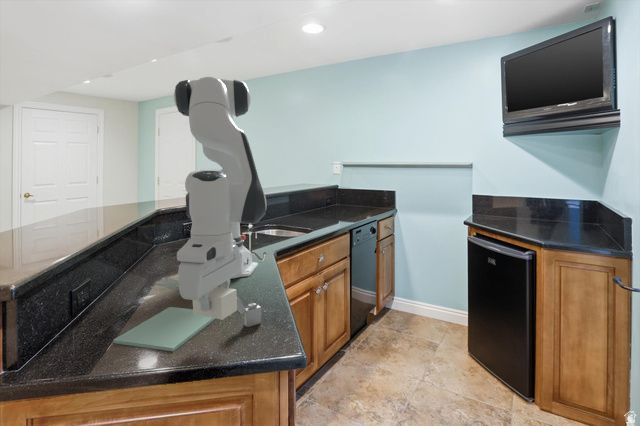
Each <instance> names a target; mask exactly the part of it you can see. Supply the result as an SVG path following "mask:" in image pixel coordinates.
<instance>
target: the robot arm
mask: <svg viewBox="0 0 640 426" xmlns="http://www.w3.org/2000/svg"><path fill="white" fill-rule="evenodd" d="M173 100H174V101H173V102H174V104H175V106H176V108H177V111H178V112H179V113H180V114H181V115H183V116H185V117H188V120H189V121H188V124H189V129H190V132H191V135H192V136H193V137H194V139H195V140H196V141H197V142H198V143H199V144H201V146H202V152H203V154H204V156H205V157H206V158H207V159H208V160H209V161H211V162H214V163H216V164H217V165H219V167H221V168H222V169H218V168H217V169H216V168H215V169H214V168H213V169H212V168H211V169H209V168H208V169H207V168H205V169H198V170H193V171H190V172H189V173H188V175H187V176H186V178H185V181H184V186H185V191H186V192H187V194H186V195H185V209H186V210H185V211H186V216H187V217H188V219H190V220H191V228H190V238H189V239H188V240H187V242H185V244H184V245H183V246H182V247H181V248H179V250H178V251H176V259H177V261H178V262H180V263H179V265H178V271H177V272H178V274H177V275H178V276H177V278H178V290H179V294H180V296H181V298H182V299H184V300H191V301H193V300H197V299H198V300H199V302H200V303H201V310H202V311H205V312H207V311H209V310H210V309H211V308H212V306H211V305H212V303H211V301H209V300H208V298H207V297H208V296H209V292H210V291H211V290H213V289H214V288H216V287H217V286H218V287H224V288H230V285H231V280H232V279H236V278H243V277H250V276H251V275H252V273H253V272H254V271H255V270H256V269H257V267H258V266H259V263H258V262H257V261H256V262H255V261H253V256H252V252H251V251H250V250H249V249H248V248H246V246H244V242H243V241H246V235H245V234H241V226H240V225H241V224H245V225H247V224H249V225H254V224H257V223H258V222H259V221H260V220H261V219H262V218H264V217H265V215H266V213H267V197H266V194H265V192H264V190H263V187H262V183H261V182H260V177H259V174H258V171H257V170H258V169H257V168H256V164H255V161H254V160H255V159H254V157H253V152H252V150H251V149H252V148H251V147H250V143H249V140H248V137H247V135H246V133H245V131H244V130H243V129H241V128H238V126H237V124H235V121H234V116H235V117H236V118H238V117H241V116H243V115H245V114H247V112H248V111H249V108H250V107H251V106H250V105H251V101H252V99H251V93H250V91H249V88H248V85H247V84H246V83H245V82H244V81H241V80H237V79H233V80H230V79H222V78H216V77H213V76H204V77H201V78H198V79H193V80H190V79H186V80H182V81H179V82H178V83H177V84H176V85H175V88H174V92H173Z"/></svg>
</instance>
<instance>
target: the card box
mask: <svg viewBox="0 0 640 426" xmlns="http://www.w3.org/2000/svg"><path fill="white" fill-rule="evenodd" d="M237 294H238V293H237V289H235V288H230V287H229V288H224V287H220V286H217V287H216V288H214V289H213V290H211V291H210V292H209V296H208V297H207V298H208V300H209V301H211V303H212V305H211V306H212V308H211V309H210V310H209V311H207V312H205V311H202V310H201V303H200V302H199V300H198V299H197V300H192V309H193V314H197V315H202V316H206V317H211V318H216V319H217V320H221V321H222V320H224V319H226V318H227V317H229V316H231V315H232V314H234V313H235V312H237V311H238V309H237V297H238V295H237ZM216 319H215V320H216Z"/></svg>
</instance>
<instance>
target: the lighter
mask: <svg viewBox="0 0 640 426" xmlns="http://www.w3.org/2000/svg"><path fill="white" fill-rule="evenodd" d="M237 311H238V313H240V314H241V315H243V321H244V323H243V324H244V326H245V327H246V328H248V327H253V326H255V325H259V324H262V306H260V305H259V304H257V303H255V302H253V303H248V304H247V307H245V306H244V304H243V302H242V299H240V298H239V297H238V296H237Z"/></svg>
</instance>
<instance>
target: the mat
mask: <svg viewBox="0 0 640 426" xmlns="http://www.w3.org/2000/svg"><path fill="white" fill-rule="evenodd" d="M215 320H216V318H211V317H206V316H202V315H197V314H193V308H192V309H191V308H184V307H174V306H169V307H167V308H165V309H163V310H162V311H160V312H159V313H157V314H155V315H153V316H152V317H150V318H148V319H147V320H145V321H143V322H141V323H140V324H138V325H136V326H134V327H133V328H131V329H129V330H128V331H126V332H124V333H122V334H120V335H119V336H117V337H115V338H114V339H113V344H118V345H126V346H131V347H132V346H133V347H138V348H139V347H140V348H145V349H146V348H147V349H154V350H160V351H166V352H167V351H168V352H173V353H174V352H175V351H176V350H178V349H179V348H180V347H182V346H183V345H184V344H186V343H187V342H189V340H191V339H192V338H193V337H194V336H196V335H197V334H198V333H200V332H201V331H202V330H204V329H205V328H206V327H207V326H208V325H210V324H212V322H214V321H215Z"/></svg>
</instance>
